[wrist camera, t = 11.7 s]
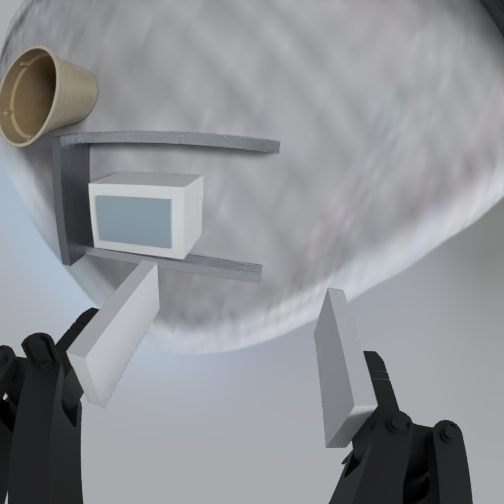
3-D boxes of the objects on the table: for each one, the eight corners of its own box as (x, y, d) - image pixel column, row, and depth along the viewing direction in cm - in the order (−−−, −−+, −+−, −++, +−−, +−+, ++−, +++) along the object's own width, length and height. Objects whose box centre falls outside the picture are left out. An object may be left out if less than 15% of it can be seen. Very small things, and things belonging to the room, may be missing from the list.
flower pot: (113, 46, 21) (62, 29, 13) (112, 129, 25) (58, 136, 17) (50, 69, 22) (-2, 65, 14) (50, 142, 26) (-3, 155, 18)
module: (121, 171, 27) (85, 184, 21) (203, 174, 26) (182, 188, 21) (123, 225, 29) (92, 249, 23) (201, 233, 29) (182, 261, 23)
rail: (81, 132, 25) (52, 137, 20) (279, 141, 24) (280, 143, 20) (86, 245, 31) (62, 264, 26) (261, 273, 30) (257, 300, 25)
